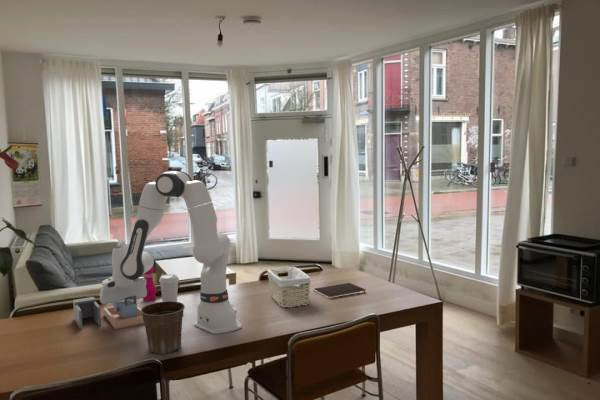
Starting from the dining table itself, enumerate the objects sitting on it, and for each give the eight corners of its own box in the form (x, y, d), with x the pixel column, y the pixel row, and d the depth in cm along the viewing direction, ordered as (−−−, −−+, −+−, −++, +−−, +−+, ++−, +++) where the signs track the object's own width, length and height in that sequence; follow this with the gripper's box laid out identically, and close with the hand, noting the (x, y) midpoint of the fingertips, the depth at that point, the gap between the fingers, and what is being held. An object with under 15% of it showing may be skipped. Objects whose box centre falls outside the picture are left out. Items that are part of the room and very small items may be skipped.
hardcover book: (365, 293, 258) (365, 289, 258) (329, 300, 247) (329, 295, 247) (349, 286, 272) (349, 282, 272) (313, 292, 261) (313, 288, 261)
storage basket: (312, 306, 236) (311, 276, 235) (280, 310, 231) (280, 279, 230) (295, 293, 259) (295, 266, 257) (266, 296, 253) (266, 268, 252)
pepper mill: (152, 301, 245) (150, 263, 243) (139, 300, 246) (137, 262, 244) (159, 297, 252) (157, 259, 250) (146, 296, 253) (145, 259, 251)
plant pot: (144, 360, 176) (142, 317, 175) (140, 344, 191) (138, 304, 189) (189, 352, 183) (188, 311, 181) (182, 337, 197) (180, 299, 196)
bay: (101, 324, 213) (100, 304, 212) (79, 328, 208) (78, 308, 207) (94, 315, 225) (93, 296, 224) (74, 319, 220) (73, 300, 219)
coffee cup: (168, 310, 231) (167, 279, 230) (155, 306, 237) (154, 276, 235) (183, 305, 239) (183, 275, 237) (171, 301, 245) (170, 272, 243)
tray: (148, 323, 214) (147, 315, 214) (115, 329, 206) (115, 321, 206) (134, 309, 232) (134, 302, 232) (103, 315, 225) (103, 308, 224)
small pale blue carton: (137, 316, 217) (136, 296, 216) (127, 319, 213) (126, 298, 213) (125, 310, 225) (124, 290, 224) (114, 313, 222) (113, 293, 221)
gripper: (144, 275, 227) (145, 303, 229) (98, 282, 216) (99, 312, 217) (148, 278, 222) (149, 307, 223) (101, 285, 211) (102, 315, 212)
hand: (124, 309), depth 220 cm, fingers closed on small pale blue carton, 5 cm apart
